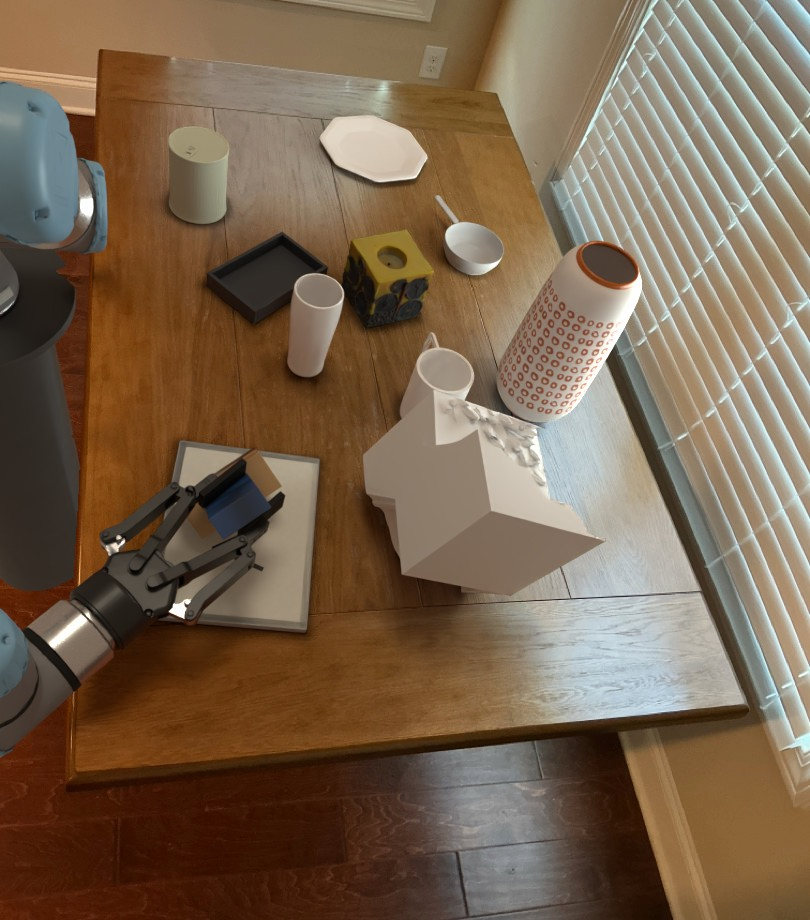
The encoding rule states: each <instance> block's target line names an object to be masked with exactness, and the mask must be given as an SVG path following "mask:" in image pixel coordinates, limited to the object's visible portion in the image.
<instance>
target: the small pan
mask: <svg viewBox="0 0 810 920" xmlns="http://www.w3.org/2000/svg"><path fill="white" fill-rule="evenodd" d="M433 199H434V200H435V202H436V203H437V204H438V206H439V207H440V208H441V210H442V211H443V212H444V214H445V215H446V216H447V218H448V219H449V220H450V222H451V225H450V226H449V227H448V228H447V229H446V231H445V233H444V237H443V244H442V245H443V250H444V254H445V257H446V260H447V261H448V263H449V265H451V266H452V267H453V268H454V269H456V270H457V271H458V272H461V273H463V274H466V275H469V276H481V275H484V274H486V273H488V272H490V271H492V270H493V269H495V267H497V266H498V264H499V263H500V262H501V260H502V258H503V256H504V254H505V247H504V243H503V242H502V240H501V238H500V237H499V236H498V235H497V234H496V233H495V232H494V231H492V230H491V229H489V228H488V227H486V226H484V225H481V224H478V223H475V222H470V221H459V219H458V218H457V217H456V215H455V214H454V213H453V211H452V210H451V209H450V208H449V206H448V205H447V203H446V202H445V200H444V199H443V198H442V197H441V196H440V195H435V196H434V197H433Z"/></svg>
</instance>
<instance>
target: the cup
mask: <svg viewBox="0 0 810 920" xmlns="http://www.w3.org/2000/svg"><path fill="white" fill-rule="evenodd" d="M431 344H432V348H429V347H430V346H431ZM474 380H475V372H474V369H473V366H472V365H471V363H470V362H469V360H468V359H467V358H465V356H463V355H462V354H460V353H459V352H457V351H456V350H453V349H451V348H446V347H440V344H439V342H438V339H437V336H436V334H435V333H434V332H433V331H432V332H431V331H430V332H429V334H428V336H427V338H426V339H425V341H424V342H423V346H422V350H421V353H420V355H419V356H418V358H417V360H416V362H415V366H414V368H413V371H412V373H411V376H410V379H409V381H408V384H407V388H406V389H405V391H404V395H403V398H402V400H401V403H400V406H399V415H400V418H401V419H402V418H403V417H405V416H406V415H407V414H408V413H409V412H410V411H411V410H412V409H413V408H414V407H415V406H416V405H417V404H419V403H420V402H421V401H422V400H423V399H424V398H425V397H426V396H427V395H428V394H429V393H430V392H431V391H433V390H436V391H438V392H441V393H444V394H447V395H450V396H453V397H456V398H459V399H462V400H464V401H466V397H467V395H468V394H469V392H470V389H471V388H472V386H473V383H474Z"/></svg>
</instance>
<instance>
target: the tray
mask: <svg viewBox="0 0 810 920" xmlns="http://www.w3.org/2000/svg"><path fill="white" fill-rule="evenodd" d="M328 270H329V266H328V265H327V264H325V263H324V262H323V261H322V260H320V259H319V258H318V257H316V256H315V255H314V254H313V253H311V252H310V251H308V250H307V249H306V248H305V247H304V246H302V245H301V244H299V243H298V242H297V241H296V240H294V239H293V238H291V237H290V236H289V235H288V234H286V232H284V231H280V232H279V233H277V234H275V235H273V236H271V237H270V238H268V239H266V240H263V241H262V242H260V243H258V244H257V245H255V246H253V247H251V248H249V249H247V250H246V251H244V252H242V253H240V254H238V255H237V256H235V257H233V258H231V259H229V260H227V261H226V262H224V263H222V264H220V265H219V266H217V267H214V268H213V269H211V270H209V271H208V272H206V284H205V285H206V287H208V288H209V289H210V290H211V291H213V292H214V293H215V294H216V295H217V296H219V298H221V299H222V300H224V301H225V303H227V304H228V305H230V306H231V307H232V308H233V309H235V310H236V311H238V313H240V314H241V315H242V316H243V317H245V318H246V319H247V321H249V322H251V324H253V325H255V324H257V323H259V322H260V321H261V320H263V319H264V318H266V317H268V316H269V315H271V314H272V313H274V312H276V311H278V310H279V309H281V308H282V307H284V306H285V305H287V304H288V303H291V300H292V294H293V290H294V285H295V283H296V281H297V280H298V279H299V278H300V277H302V276H304V275H306V274H311V273H318V274H324V275H327V276H328Z"/></svg>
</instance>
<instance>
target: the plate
mask: <svg viewBox="0 0 810 920" xmlns="http://www.w3.org/2000/svg"><path fill="white" fill-rule="evenodd" d="M318 139H319V142H320V144H321V145H322V147H323V148H324V150H325V151H326V153H327V155H328V156H329V159H331V161H332V163H333V165H334V166H336V167H337V168H339V169H340V170H343V171H346V172H348V173H351V174H352V175H355V176H358V177H360V178H362V179H365V180H367V181H369V182H372V183H375V184H384V183H385V184H386V183H394V182H403V181H404V182H405V181H412V180H415V179H417V178H418V175H419V174H420V172H421V170H422V168H423V167H424V165H425V163H426V162H427V160H428V154H427V153H426V151H425V150H424V149H423V147H422V146H421V145H420V143H419V142H418V140H417V139H416V137H414V135H413V134H412V132H411V131H410V130H408V129H407V128H404V127H402V126H400V125H397V124H395V123H392V122H389V121H387V120H385V119H383V118H380V117H377V116H375V115H372V114H367V115H366V114H365V115H349V116H336V117H334V118H332V120H331V121H330V122H329V123H328V124H327V126H326V128H325V129H324V130H323V131H322V133H321V134H320V135H319V137H318Z"/></svg>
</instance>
